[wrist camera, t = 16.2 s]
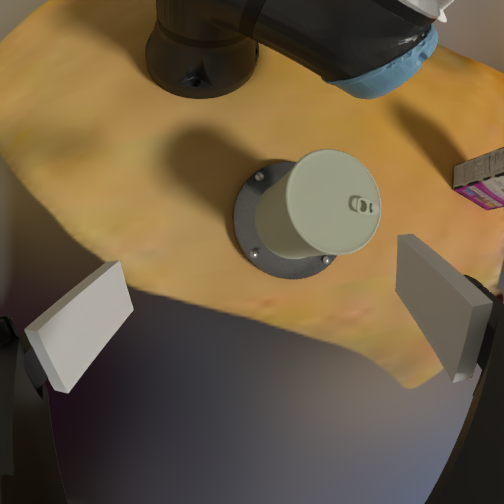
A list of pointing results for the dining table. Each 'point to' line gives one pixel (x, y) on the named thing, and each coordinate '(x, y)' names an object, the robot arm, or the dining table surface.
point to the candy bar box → (482, 179)
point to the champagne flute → (443, 6)
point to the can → (319, 207)
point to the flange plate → (249, 235)
